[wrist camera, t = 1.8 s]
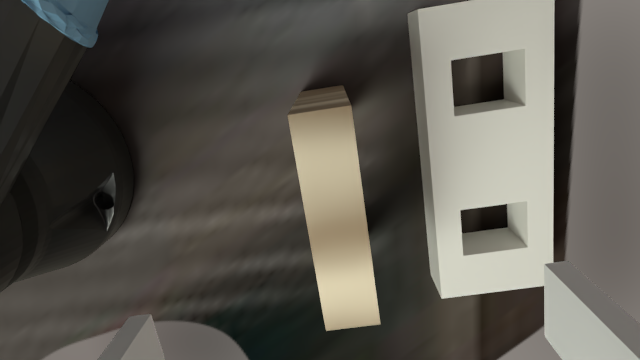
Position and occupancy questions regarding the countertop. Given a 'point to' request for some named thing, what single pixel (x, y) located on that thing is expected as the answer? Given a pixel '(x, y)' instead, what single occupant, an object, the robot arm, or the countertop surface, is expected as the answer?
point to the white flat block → (486, 143)
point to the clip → (334, 206)
